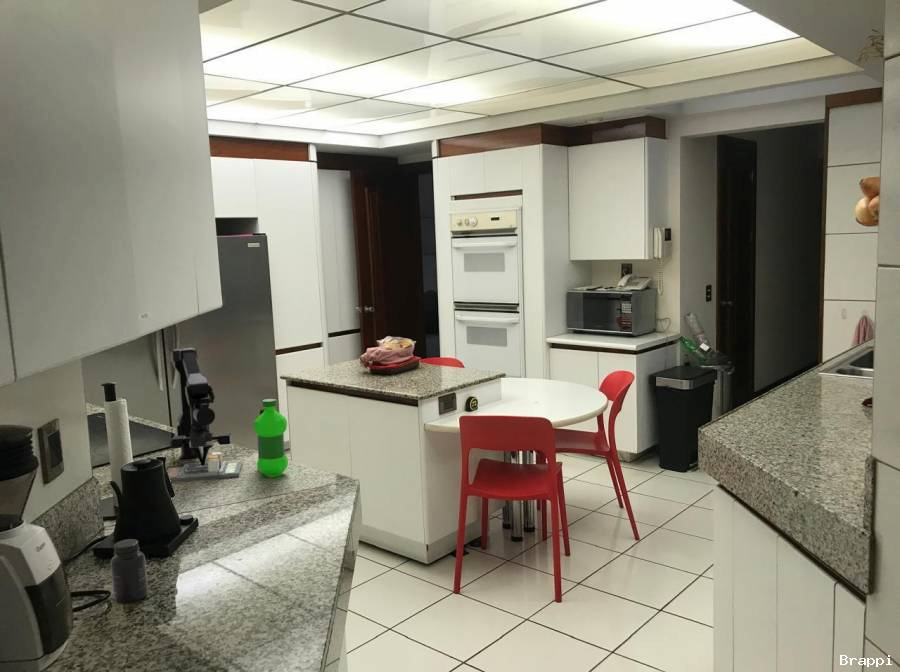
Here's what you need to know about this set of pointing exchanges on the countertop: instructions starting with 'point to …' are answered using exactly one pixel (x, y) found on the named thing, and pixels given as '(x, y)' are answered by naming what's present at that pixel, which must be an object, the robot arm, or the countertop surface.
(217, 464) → the block
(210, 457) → the block
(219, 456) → the block
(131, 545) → the supplement bottle
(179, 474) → the panel
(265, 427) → the plastic bottle
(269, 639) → the countertop surface
